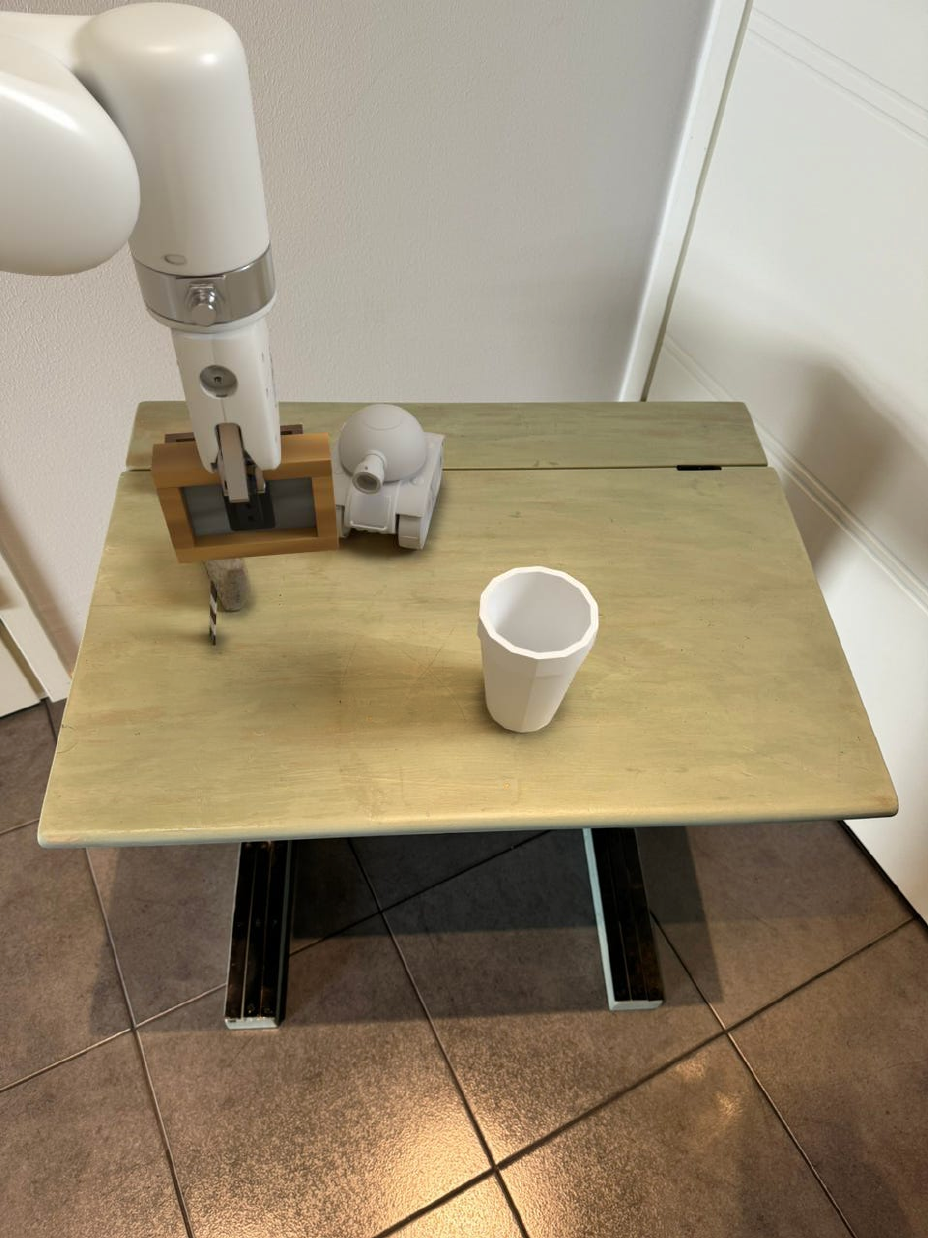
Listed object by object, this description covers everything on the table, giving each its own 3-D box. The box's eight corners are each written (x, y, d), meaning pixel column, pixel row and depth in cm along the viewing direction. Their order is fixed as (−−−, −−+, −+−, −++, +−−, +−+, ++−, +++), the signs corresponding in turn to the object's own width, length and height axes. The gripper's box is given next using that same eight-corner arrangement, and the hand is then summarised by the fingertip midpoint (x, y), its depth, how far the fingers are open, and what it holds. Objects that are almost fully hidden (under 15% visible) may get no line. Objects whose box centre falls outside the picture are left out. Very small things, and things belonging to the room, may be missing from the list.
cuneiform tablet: (213, 645, 77) (178, 558, 84) (260, 635, 79) (222, 551, 86) (215, 591, 72) (177, 503, 79) (265, 582, 74) (224, 497, 81)
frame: (339, 549, 64) (331, 459, 57) (178, 563, 63) (150, 472, 56) (336, 522, 66) (328, 431, 59) (180, 535, 64) (152, 443, 57)
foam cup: (560, 656, 79) (583, 562, 68) (584, 741, 73) (613, 651, 63) (461, 666, 77) (469, 571, 67) (478, 753, 72) (489, 664, 61)
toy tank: (420, 570, 84) (421, 472, 74) (318, 554, 85) (306, 455, 75) (444, 473, 94) (449, 375, 84) (353, 460, 95) (346, 361, 84)
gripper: (279, 352, 43) (311, 587, 57) (270, 205, 53) (299, 436, 67) (127, 360, 42) (198, 598, 56) (147, 208, 52) (203, 443, 66)
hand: (253, 508), depth 62 cm, fingers closed on frame, 2 cm apart
